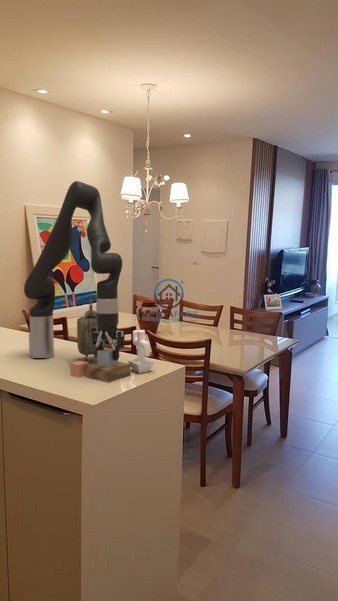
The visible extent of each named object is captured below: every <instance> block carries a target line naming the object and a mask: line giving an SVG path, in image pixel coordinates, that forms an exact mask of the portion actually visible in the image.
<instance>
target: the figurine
mask: <svg viewBox="0 0 338 601" xmlns="http://www.w3.org/2000/svg"><path fill="white" fill-rule="evenodd" d="M146 338H147V335H146V331H145V329H139V330H136V329H135V330H133V331H132V343H133V345H134V346H136V347H137V348H136V349H137V351H136V352H137V356H136V359H128V360H127V362H128V364H130V365H131V369H132V371H133V372H135V373H137V374H143V373H142V372H144V373H147V372H146V371H151V370H152V368H153V366H154V365H155V363H156V362H155V361H154V360H151V359H149V358H147V357H150V355H151V345H150V342H149V341H147V340H146Z"/></svg>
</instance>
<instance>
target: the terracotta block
mask: <svg viewBox="0 0 338 601" xmlns="http://www.w3.org/2000/svg"><path fill="white" fill-rule="evenodd" d="M69 365H70V366H69V367H70V370H69V372H70V377H71V376H72V377H74V378H83V377H86V371H85V366H86V365H90V363H89V361H87V362H84V360H83V361H82V360H77V361H74V362H70V363H69Z"/></svg>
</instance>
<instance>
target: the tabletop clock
mask: <svg viewBox="0 0 338 601" xmlns="http://www.w3.org/2000/svg"><path fill="white" fill-rule="evenodd" d="M88 305H89V307H88V308H89V310H87V311H86V312H85V313H84V315H83V316H81V317H79V318H77V319H76V332H77V333H76V334H77V336H76V337H77V338H76V341H77V343H76V344H77V350H78V352H79V353H80V354H81V355H83V356H85V357H84V359H83V361H84V362H89V359H88V357H89V356H91V355H93V357H94V359H97V347H96V345H93V344H92V334H91V328H94V327H98V325H97V321H96V310H94V309H93V299H92V298H89V301H88ZM95 341H96V337H95ZM105 343H106V341H105V342H104V344H103V350H104V349H106V344H105Z"/></svg>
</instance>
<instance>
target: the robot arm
mask: <svg viewBox="0 0 338 601" xmlns="http://www.w3.org/2000/svg"><path fill="white" fill-rule="evenodd" d="M77 208H79V209H81V210H85V211H87V212H88V214H89V216H90V219H89V221H88V224H87V227H86V236H87V240H88V243H89V246H90V253H91V254H90V255H91V258H90V267H91V270H92V271H93V272H94V273H96V274H98V275H100V274H101V275H103V274H109V275H108V277H107V278H106V279H104V280H100V281H98V282H97V283H96V304H95V308H96V310H95V311H96V321H97V325H98V327H94V328H91V334H92V344H93V345H96V347H97V351H99V350H103V344H104V342H105V343H106V342H108V343H109V344H110V345H111V348H112V349H113V360H114V361H116V360H118V361H119V359H120V350H121V349H123V348H125V334H126V332H125V330H119V329H118V325H119V302H118V284H119V280H120V276H121V272H122V269H123V259H122V256H121V255H120V254H119V253H117V252H109V251H110V249H111V247H112V244H111V241H110V237H109V234H108V232H107V231H108V230H107V228H106V226H105V220H104V219H105V218H104V213H103V206H102V198H101V195H100V192H99V190H98V188H96V187H95V186H93V185H91V184H88V183H85V182H82V181H79V180H78V181H77V180H76V181H73V182H71V184H70V185H69V187H68V189H67V192H66V194H65V197H64V199H63V202H62V205H61V208H60V211H59V213H58V216H57V218H56V221H55V222H54V225H53V227H52V229H51V232H50V233H49V235H48V237H47V239H46V242H45V245H44V247H43V249H42V251H41V252H40V255H39V257H38V259H37V261H36V263H35V265H34V266H33V267H32V270H31V271H30V273H29V275H28V277H27V279H25V282H24V285H23V286H24V287H23V292H24V295H25V296H26V298H28V299H30V300H36V303H35V304H34V305H33V306H31V307H30V309H29V313H28V314H29V333H28V348H29V349H28V350H29V357H30V356H31V357H32V358H31V357H30V358H31V359H33V358H47V359H51V357H52V358H53V357H55V350H54V349H55V348H54V347H55V346H54V345H55V343H54V342H55V340H54V338H55V336H54V335H55V334H54V310H55V306H56V305H55V303H56V286H55V282H54V280H53V278H52V277H50V274H51V273H52V272H53V270H54V269H55V268H56V267H58V266H59V265H60V264H61V263H62V262H63V261H64V259H65V258H66V257H67V256H68V254H69V253H70V250H71V248H72V246H73V244H74V240H75V239H74V238H75V236H74V230H73V223H72V222H73V216H74V213H75V210H76V209H77ZM95 337H96V341H95Z"/></svg>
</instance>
